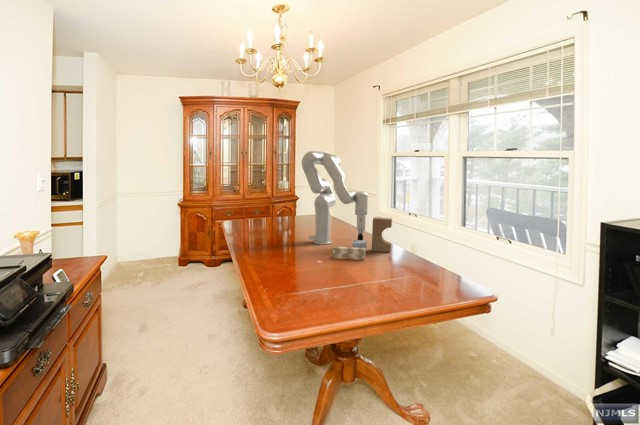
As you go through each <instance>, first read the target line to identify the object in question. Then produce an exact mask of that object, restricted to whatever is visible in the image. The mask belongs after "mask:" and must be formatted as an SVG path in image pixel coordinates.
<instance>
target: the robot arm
mask: <svg viewBox="0 0 640 425" xmlns="http://www.w3.org/2000/svg"><path fill="white" fill-rule="evenodd" d="M315 165H321V166H323V167H324V169H325V171H326V173H327V174H328V176H329V177H330V179H331V182H332V185H333V188H334V190H333V188H332V186H331V184H330V182H329V180H328V179H325V178H322V177H321V174H320V172H319V171H318V169H317V168H316V167H315ZM340 166H341V158H339V156H338V155H335V154H331V153H328V152H325V151H324V152H323V151H318V150H316V151H314V150H311V151H307V152H306V153H305V154H304V155H303V156H302V159H301V168H302V170H303V173H304V175H305V177H306V180H307V183H308V186H309V188H310V190H311V192H312V193H313V194H317V197H315V200H314V202H313V204H314V210H315V224H314V225H315V234H314V235H308V239H309V240H312V242H313V244H316V245H320V246H321V245H331V244H333V240H332V239H330V238H331V213H330V208H332V207H334V206H335V205H336V196H337V198H338V199H339V201H340V202H341V203H342V204H344V205H349V204H353V203H354V205H355V206H354V208H355V210H354V215H355V216H356V231H357V233H358V234H357V240H363V241H364V232H365V231H366V225H367V224H366V222H367V221H366V220H367V218H366V216H367V215H368V204H369V202H368V201H369V194H368V193H367V192H366V191H354V190H348V189H347V187H346V185H345V181H344V180H345V173H344V171H343V170H342V168H341V167H340ZM334 192H335V193H334ZM318 194H319V195H318ZM335 194H336V196H335Z"/></svg>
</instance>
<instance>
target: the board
mask: <svg viewBox="0 0 640 425" xmlns="http://www.w3.org/2000/svg"><path fill="white" fill-rule="evenodd" d="M365 250H366V251H367V247H366V248H354V247H352V246H333V247H332V259H340V260H341V259H342V260H355V261H356V260H357V261H358V260H359V261H365V260H366V253H365Z"/></svg>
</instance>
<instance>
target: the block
mask: <svg viewBox="0 0 640 425" xmlns="http://www.w3.org/2000/svg"><path fill="white" fill-rule="evenodd" d="M351 247H354V248H366V250H365V254H367V240H364V239H363V240H358V239H353V240H352V245H351Z"/></svg>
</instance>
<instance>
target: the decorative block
mask: <svg viewBox="0 0 640 425" xmlns="http://www.w3.org/2000/svg"><path fill="white" fill-rule="evenodd" d="M392 226H393V218H392V217H376V216H373V218H372V230H371V231H372V232H371V251H372V252H377V253H391V248H392V243H391V242H389V241H387V240H386V239H384V236H383V232H384V231H385V230H386V229H390V228H391V229H392Z"/></svg>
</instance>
